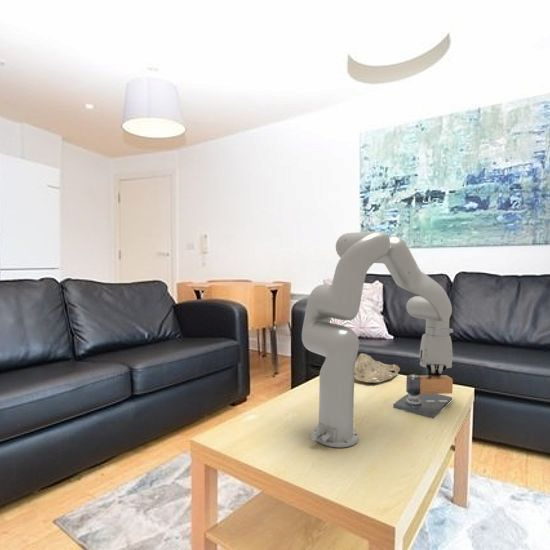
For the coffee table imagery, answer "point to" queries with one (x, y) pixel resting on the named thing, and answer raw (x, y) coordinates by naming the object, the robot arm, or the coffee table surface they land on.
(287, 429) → the coffee table surface
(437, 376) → the orange boxy piece
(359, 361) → the stone
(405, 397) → the post base
